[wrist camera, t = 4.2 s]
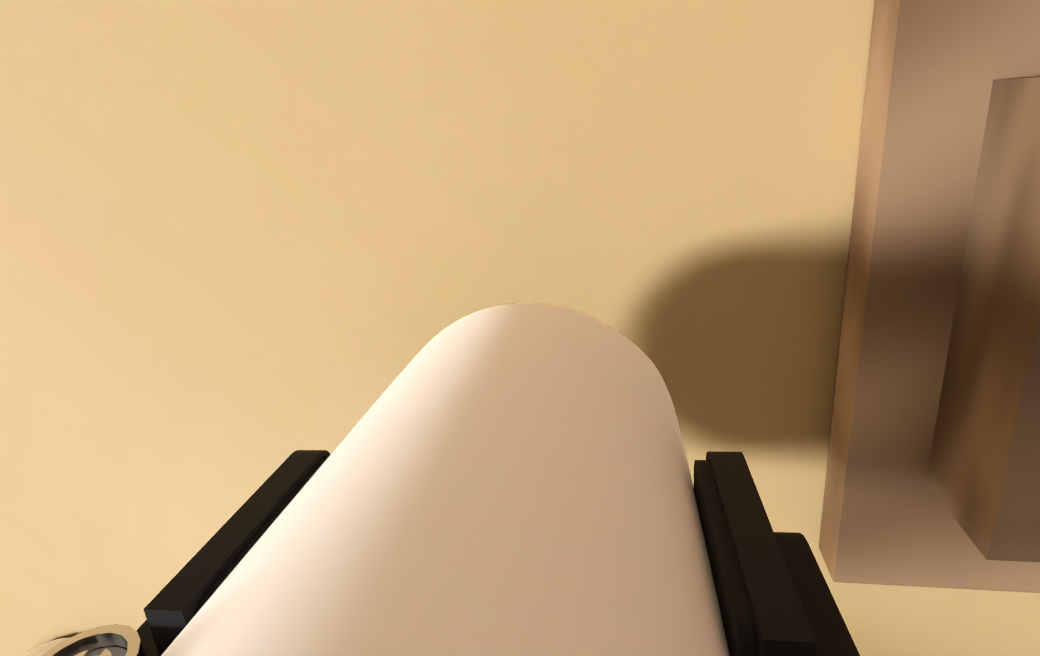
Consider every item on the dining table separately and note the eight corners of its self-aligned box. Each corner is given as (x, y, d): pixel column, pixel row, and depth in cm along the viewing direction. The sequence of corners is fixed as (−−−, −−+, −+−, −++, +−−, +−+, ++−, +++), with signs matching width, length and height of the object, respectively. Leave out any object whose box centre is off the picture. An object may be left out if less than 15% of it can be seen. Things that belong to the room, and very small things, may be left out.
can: (740, 426, 13) (1383, 1967, 2) (549, 590, 16) (387, 1793, 4) (517, 234, 13) (-170, 1040, 2) (350, 432, 15) (-443, 1368, 4)
